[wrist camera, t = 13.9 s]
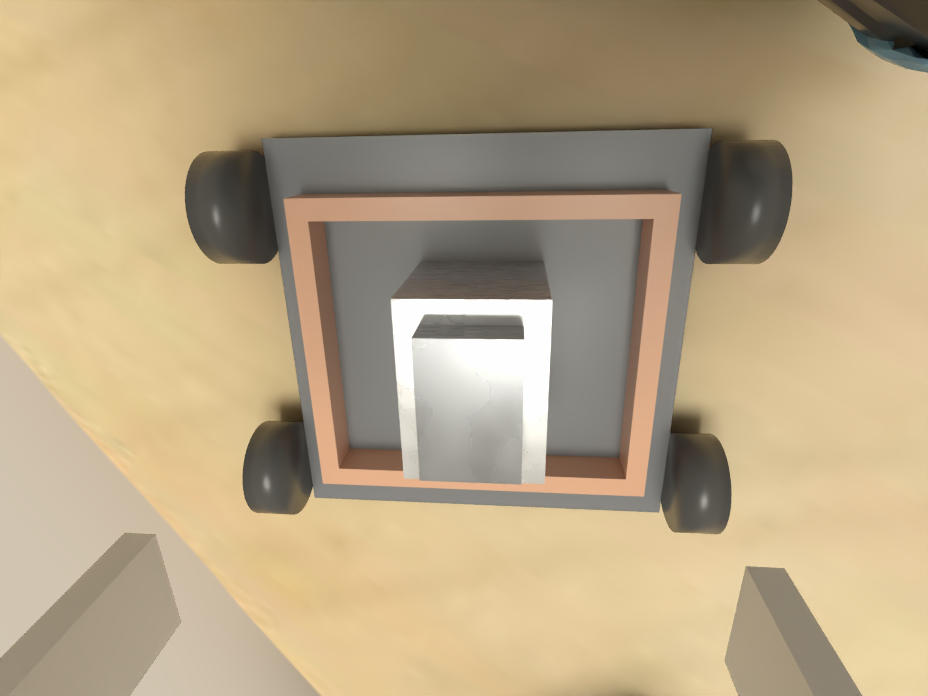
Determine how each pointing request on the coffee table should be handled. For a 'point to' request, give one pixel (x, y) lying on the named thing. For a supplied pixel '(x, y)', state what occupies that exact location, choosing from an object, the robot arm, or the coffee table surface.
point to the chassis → (495, 240)
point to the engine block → (473, 371)
